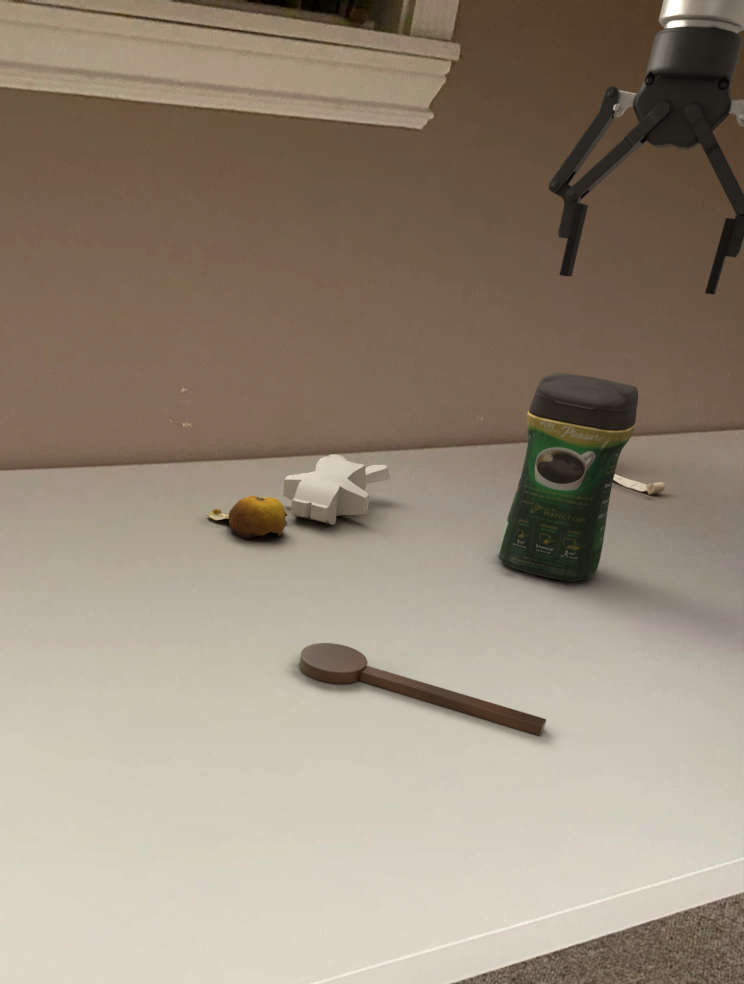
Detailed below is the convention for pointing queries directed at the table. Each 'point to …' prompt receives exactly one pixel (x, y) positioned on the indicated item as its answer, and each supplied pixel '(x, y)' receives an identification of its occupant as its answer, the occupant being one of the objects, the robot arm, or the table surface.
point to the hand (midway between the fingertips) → (635, 285)
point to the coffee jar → (567, 475)
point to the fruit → (254, 516)
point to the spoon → (405, 685)
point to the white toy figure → (332, 489)
